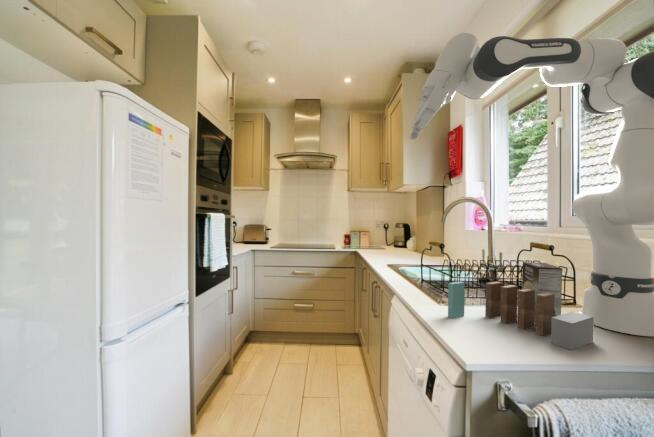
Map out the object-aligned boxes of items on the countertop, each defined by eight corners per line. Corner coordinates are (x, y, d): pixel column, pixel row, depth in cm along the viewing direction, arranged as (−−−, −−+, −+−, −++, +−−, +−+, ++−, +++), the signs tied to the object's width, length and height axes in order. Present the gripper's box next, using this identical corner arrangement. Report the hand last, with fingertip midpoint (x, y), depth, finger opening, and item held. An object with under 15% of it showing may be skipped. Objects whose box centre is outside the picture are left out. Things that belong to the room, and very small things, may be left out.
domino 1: (447, 316, 83) (448, 282, 83) (459, 314, 85) (460, 281, 85) (452, 318, 81) (453, 284, 81) (464, 316, 83) (464, 282, 83)
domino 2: (485, 316, 83) (486, 283, 83) (495, 314, 86) (496, 281, 85) (490, 318, 82) (491, 284, 82) (501, 315, 84) (501, 282, 84)
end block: (572, 335, 70) (573, 311, 70) (593, 341, 67) (593, 316, 67) (551, 342, 66) (551, 317, 66) (571, 350, 62) (572, 323, 62)
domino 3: (500, 321, 79) (501, 286, 79) (511, 319, 81) (511, 284, 81) (506, 323, 78) (506, 287, 78) (516, 321, 80) (517, 286, 80)
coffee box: (520, 313, 87) (521, 261, 86) (543, 315, 85) (544, 262, 85) (536, 324, 78) (537, 266, 77) (562, 326, 76) (563, 267, 76)
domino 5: (535, 333, 71) (536, 294, 71) (546, 330, 73) (547, 292, 73) (542, 336, 70) (543, 296, 70) (553, 332, 72) (554, 294, 72)
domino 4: (517, 327, 75) (517, 290, 75) (527, 324, 77) (528, 288, 77) (523, 329, 74) (524, 291, 74) (534, 326, 76) (535, 289, 76)
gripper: (464, 75, 69) (438, 125, 69) (437, 109, 89) (417, 148, 90) (440, 64, 70) (415, 114, 70) (419, 101, 90) (399, 139, 90)
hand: (416, 133), depth 80 cm, fingers open, 8 cm apart
